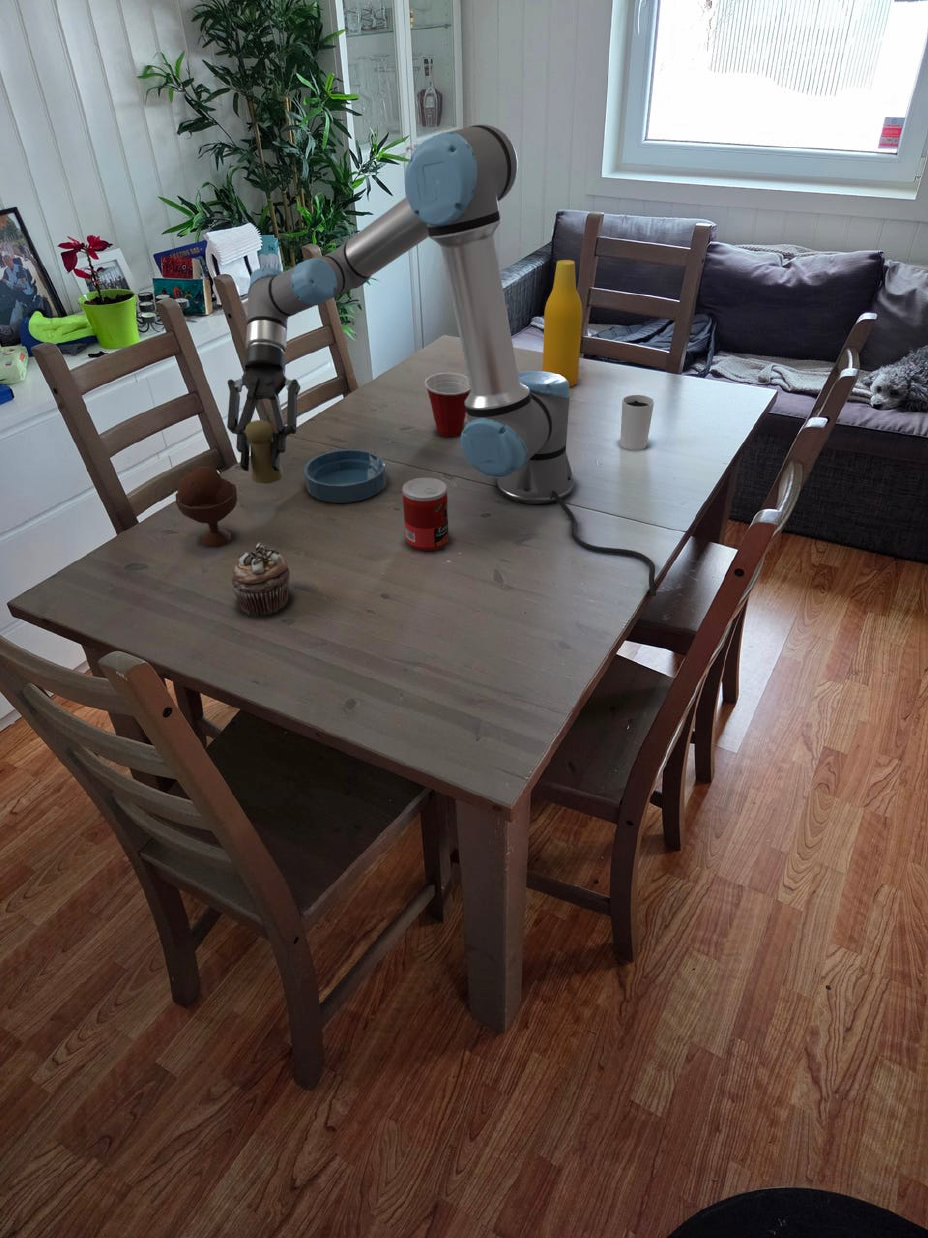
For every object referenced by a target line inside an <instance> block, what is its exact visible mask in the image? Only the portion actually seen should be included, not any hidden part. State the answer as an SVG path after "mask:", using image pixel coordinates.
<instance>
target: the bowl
mask: <svg viewBox="0 0 928 1238" xmlns="http://www.w3.org/2000/svg"><path fill="white" fill-rule="evenodd" d="M303 471H304V479H305V480H304V481H305V487H306V491H307V492H308V493H309V495H310V496H311V497H313V498H316V499H317V500H319V501H323V502H326V503H327V502H328V503H337V504H346V503H355V502H359V501H363V500H367V499H370V498H372V497H374V496H376V495H378V494H379V493H380V492H381V491H382V490H384V488H385V487H386V485H387V472H386V471H387V470H386V463H385V460H384V459H383V458H382V457H381V456H380V455H379V454H376V453H375V452H372V451H369V450H364V449H356V448H355V449H353V448H352V449H351V448H348V449H336V450H332V451H328V452H324V453H322V454H319V455H317V456H315V457H313V458H312V459H310V460H309V461H308V462H307V463H306V464H305V466H304V468H303Z"/></svg>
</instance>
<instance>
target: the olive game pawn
mask: <svg viewBox="0 0 928 1238" xmlns="http://www.w3.org/2000/svg"><path fill="white" fill-rule="evenodd" d="M273 433H275V431H274V426H273V424H272V423H271V422H270V421H268V420H264V419H256V420H251V422H250V423H249V424H247V426H246V428H245V434H246V437H247V439H248V440H249V441H250V468H251V469H250V470H251V471H250V472H251V480H252V482H255V484H256V483H257V484H265V485H267V484H273V483H276V482H278V481H280V480H281V479H282V478H283V477H284V472H283V468H282V465H281V464H280V467H279V471H275V470H274V469H273V468H272V446H273Z"/></svg>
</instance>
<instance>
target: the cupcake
mask: <svg viewBox="0 0 928 1238" xmlns="http://www.w3.org/2000/svg"><path fill="white" fill-rule="evenodd" d="M229 580H230V581H229V585H230V588H231V590H232V592H233V594H234V595H235V597H236V600H237V602H238V604H239V606H240V608H241V609H242V611H243V612H244V613H246V614H248V615H252V616H257V617H258V616H260V617H261V616H267V615H272V614H275V613H277V612H278V611H280V610H281V609H283V608H284V607H285V606H286V605H287V604H288V601H289V588H290V568H289V562H288V560H287V559H286V558H285V557H284V556H283V555H282V554H280V552H279V551H278V550H277V549H275V548H272V547H270V546H266V545H265V544H264V543H263V542H258V543H257V544H256V546H255V550H249V549H246V550H245V553H244V554H243V555H242V556H241V557H240V558H239V559H238V562H237V563H236V564H235V565H234V566H233V568H232V576H231V578H230V579H229Z"/></svg>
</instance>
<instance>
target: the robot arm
mask: <svg viewBox="0 0 928 1238" xmlns="http://www.w3.org/2000/svg"><path fill="white" fill-rule="evenodd" d="M518 162H519V161H518V155H517V151H516V148H515V146H514V143H513V142H512V141H511V139H510V138H509V137H508V136H507V134H506V133H505V132H504V131H502V130H500V128H497V127H495V126H493V125H490V124H474V125H471V126H467V127H464V128H460V129H455V130H452V131H445V132H440V133H439V134H436V135H433V136H432V137H430V138H427V139H426V140H424V141H422V142H421V143H419V145H417V147H416V148H415V149H414V150H413V152H412V154H411V156H410V158H409V160H408V162H407V164H406V167H405V172H404V191H405V196H406V197H404V198H403V199H401V200H400V201H399V202H397V203H396V204H395V205H394V206H392V207H390V208H389V209H388V210H387V211H385V212H384V213H383V214H381V215H380V216H379V217H378V218H376V219H374V220H373V221H372V222H371V223H369V224H368V225H367V226H365V227H364V228H363V229H362V230H360V231H359V232H357V233H356V234H355V235H353V236H352V237H351V238H349V240H347V241H346V242H344V243H343V244H341V245H340V246H339V247H338V248H336V249H334V250H332V251H331V252H328V253H326V254H324V255H321V256H318V257H313V258H309V259H306V260H304V261H300V262H299V263H297V264H296V265H294V266H293V267H290V268H289V269H287V270H285V271H283V270H280V269H278V268H275V267H271V266H266V267H265V268H263V267H259V268H257V269H255V270H254V271H252V272H251V274H250V277H249V286H248V290H247V296H248V297H247V317H246V319H247V320H246V321H247V322H246V324H247V325H246V336H245V337H246V339H245V347H246V349H245V351H244V352H245V356H244V371H243V374H242V375H241V378H239V379H236V380H234V379H232V378H230V379H228V380H227V386H228V391H229V398H228V399H229V400H228V411H227V422H226V428H227V429H228V430H229V432H230V433H231V434H233V435H236V445H235V447H236V451H237V452H238V453H240V462H239V463H240V464H239V465H240V466H239V467H240V468H241V469H242V470H243V471H244V472H249V470H250V454H251V451H250V441H249V440H248V439H247V437H246V434H245V428H246V426H247V424H249V423H250V422H252V421H253V417H254V414H255V410H256V407H257V405H259V401H260V400H269V401H270V404H271V408H272V413H273V418H274V422H275V426H276V431H277V432H274V433H273V438H272V440H273V446H272V468H273V469H274V470H275V471H279V467H280V465H281V454H284V453H286V450H287V449H286V447H287V437H288V436H289V435H294V434H296V433H297V427H298V426H297V425H298V424H297V423H298V421H297V420H298V395H299V393H300V391H301V385H300V382H298V380H297V379H296V378H295V379H294V378H293V379H289V378H287V376H286V361H287V358H286V357H287V355H286V352H287V340H288V337H287V336H288V319H289V318H290V317H292V316H295V315H298V314H299V313H301V312H303V311H306V310H309V309H310V308H313V307H316V306H320V305H322V304H324V303H326V302H327V301H329V300H331V299H333V298H335V297H338V296H340V295H341V294H344V293H347V292H349V291H351V290H355V289H357V288H359V287H362V286H363V285H365V284H366V283H368V282H369V281H370V279H372V276H373V275H375V274H377V273H378V272H379V271H381V270H382V269H383V268H386V267H387V266H388V265H390V264H391V263H392V262H394V261H395V260H397V259H398V258H400V257H401V256H403V255H404V254H406V253H408V252H409V251H410V250H412V249H413V248H414V247H416V246H418V245H419V244H421V243H422V242H423V241H425V240H426V239H427V238H429V239H431V240H432V241H433V242H434V243H436V244H437V245H438V246H439V247H440V248H441V254H442V258H443V263H444V269H445V273H446V278H447V282H448V287H449V292H450V297H451V301H452V302H451V303H452V307H453V312H454V316H455V322H456V326H457V332H458V335H459V340H460V345H461V351H462V354H463V355H462V356H463V360H464V364H465V369H466V374H467V377H468V380H469V384H470V389H471V391H470V394H469V396H468V397H467V399H466V400H465V408H466V418H467V423H466V424H465V425H464V427H463V430H462V433H461V434H460V447H461V451H462V454H463V456H464V457H465V459H466V460H467V462H468V463H469V464H470V465H471V466H472V467H473V468H476V469H477V471H478V472H480V473H481V474H483V475H486V476H488V477H493V478H497V479H496V480H497V481H496V482H497V490H498V492H499V493H500V494H501V495H502V496H503V497H505V498H507V499H508V500H511V501H514V502H517V503H521V504H526V505H546V504H552V503H556V502H557V503H558V505H559V506H560V507H561V508H562V510H563V511H564V512H565V514H566V515H567V516H568V517H569V519H570V522H571V535H572V539H573V540H574V542H575V543H577V545H579V547H582V548H584V549H586V550H589V551H591V552H597V553H603V554H611V555H622V556H629V557H633V558H636V559H639V560H640V561H642V562H644V563H645V564H646V565H647V566H648V567H649V571H648V589H649V595H650V596H651V597H656V596H657V592H656V584H655V576H656V564H655V563H654V562H653V561H652V559H650V558H649V557H648V556H646V555H645V554H643V553H641V552H638V551H635V550H632V549H626V548H618V547H617V548H616V547H615V548H614V547H606V546H597V545H594V544H590V543H588V542H586V541H583V539H581V538H580V537H579V534H578V521H577V518H576V516H575V515H574V513H573V511H572V510H571V509H570V507H568V506H567V503H565V502H564V501H563V499H566V498H567V497H568V496H569V495H571V493H573V489H574V475H573V472H572V468H571V464H570V461H569V457H568V454H567V442H568V441H567V440H568V424H569V411H570V410H569V409H570V408H569V407H570V399H571V395H570V387H569V383H568V381H567V380H566V379H565V378H564V377H562V376H560V375H557V374H554V373H549V372H543V371H542V370H522V371H518V367H517V361H516V355H515V349H514V343H513V338H512V333H511V327H510V321H509V316H508V310H507V304H506V298H505V294H504V287H503V280H502V276H501V270H500V263H499V259H498V258H499V257H498V253H497V247H496V241H495V236H494V235H495V231H496V230H497V228H498V227H499V225H500V223H502V219H501V213H500V207H499V202H500V201H502V200H503V199H504V198H505V197H506V196H507V195H508V194H509V193H510V191H511V190H512V188H513V187H514V185H515V182H516V180H517V174H518V169H519V166H518V165H519V163H518ZM244 386H245V388H246V390H247V393H246V400H245V402H244V406H243V409H242V411H241V414H240V402H241V393H242V390H243V387H244ZM285 387H286V391H287V408H286V409H287V410H286V412H287V413H286V423H285V419H284V414H283V411H282V407H281V399H280V397H279V396H280V393H281V392H282V391H283V390H284V388H285ZM239 416H240V417H239Z"/></svg>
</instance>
